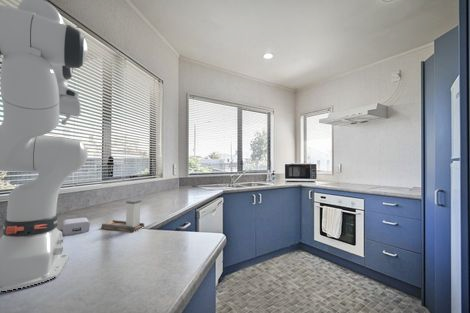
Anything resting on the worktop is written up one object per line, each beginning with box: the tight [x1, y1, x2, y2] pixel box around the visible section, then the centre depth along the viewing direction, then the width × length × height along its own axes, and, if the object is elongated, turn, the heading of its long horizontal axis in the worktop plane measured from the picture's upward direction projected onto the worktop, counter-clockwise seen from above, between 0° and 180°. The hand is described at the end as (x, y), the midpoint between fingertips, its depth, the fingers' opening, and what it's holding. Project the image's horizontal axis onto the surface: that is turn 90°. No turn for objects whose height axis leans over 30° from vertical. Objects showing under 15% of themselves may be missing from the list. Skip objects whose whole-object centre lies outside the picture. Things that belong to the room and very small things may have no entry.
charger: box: [61, 217, 91, 236], centre depth 102 cm, size 5×9×15 cm
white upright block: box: [125, 199, 142, 227], centre depth 105 cm, size 4×5×12 cm
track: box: [101, 219, 145, 233], centre depth 106 cm, size 17×8×2 cm, turn 78°
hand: (49, 122), depth 93 cm, fingers open, 8 cm apart
